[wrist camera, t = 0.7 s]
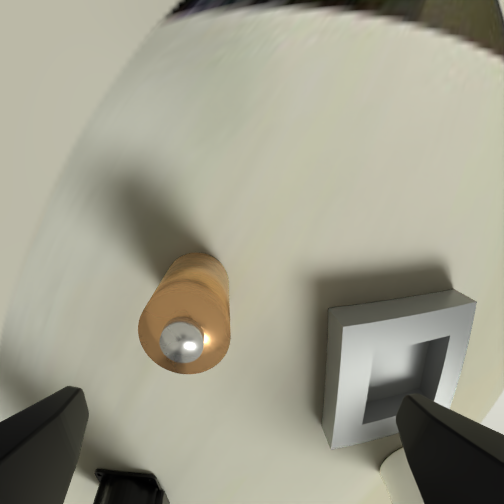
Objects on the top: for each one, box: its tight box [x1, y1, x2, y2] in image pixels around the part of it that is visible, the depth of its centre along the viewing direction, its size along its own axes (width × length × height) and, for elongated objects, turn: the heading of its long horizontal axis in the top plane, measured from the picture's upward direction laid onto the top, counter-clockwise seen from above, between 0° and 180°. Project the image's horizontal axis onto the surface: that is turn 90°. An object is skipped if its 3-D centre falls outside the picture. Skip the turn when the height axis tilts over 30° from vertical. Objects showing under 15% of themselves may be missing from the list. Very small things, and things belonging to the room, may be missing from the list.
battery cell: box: [138, 253, 230, 374], centre depth 16 cm, size 4×4×8 cm
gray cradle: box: [322, 289, 477, 450], centre depth 21 cm, size 11×11×3 cm
